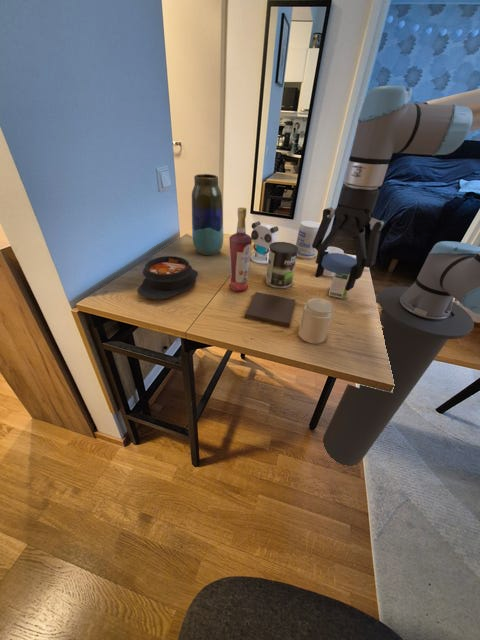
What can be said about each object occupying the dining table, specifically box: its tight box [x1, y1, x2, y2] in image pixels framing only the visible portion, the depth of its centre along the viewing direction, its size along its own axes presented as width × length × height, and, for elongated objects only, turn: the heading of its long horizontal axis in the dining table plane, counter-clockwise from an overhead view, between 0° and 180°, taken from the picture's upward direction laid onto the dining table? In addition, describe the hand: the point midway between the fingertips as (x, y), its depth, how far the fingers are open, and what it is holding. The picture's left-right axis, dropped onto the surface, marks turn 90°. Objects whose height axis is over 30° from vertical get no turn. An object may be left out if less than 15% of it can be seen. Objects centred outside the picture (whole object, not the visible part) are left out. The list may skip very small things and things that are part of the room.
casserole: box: [136, 255, 199, 300], centre depth 92 cm, size 25×19×8 cm
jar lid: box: [321, 253, 357, 274], centre depth 65 cm, size 8×8×2 cm
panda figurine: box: [250, 221, 279, 265], centre depth 113 cm, size 12×11×15 cm
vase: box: [191, 173, 225, 256], centre depth 111 cm, size 14×14×31 cm
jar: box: [297, 297, 335, 344], centre depth 73 cm, size 8×8×10 cm
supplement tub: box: [295, 220, 321, 260], centre depth 118 cm, size 10×10×15 cm
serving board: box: [244, 291, 296, 328], centre depth 85 cm, size 14×14×2 cm
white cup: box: [322, 246, 345, 278], centre depth 106 cm, size 8×8×10 cm
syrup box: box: [328, 253, 356, 300], centre depth 91 cm, size 6×6×14 cm
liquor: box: [228, 207, 253, 293], centre depth 87 cm, size 7×7×28 cm
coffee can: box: [265, 241, 298, 289], centre depth 97 cm, size 10×10×14 cm
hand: (333, 281), depth 68 cm, fingers closed on jar lid, 8 cm apart
